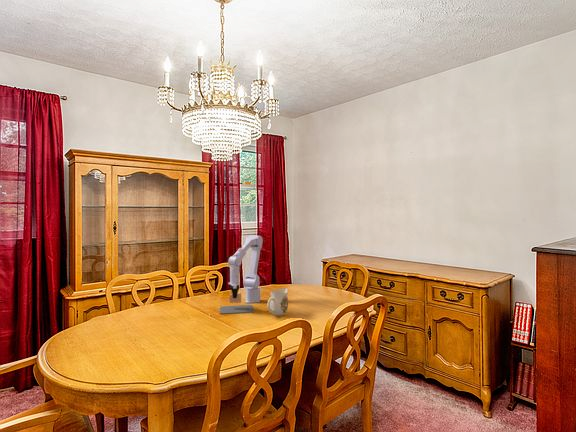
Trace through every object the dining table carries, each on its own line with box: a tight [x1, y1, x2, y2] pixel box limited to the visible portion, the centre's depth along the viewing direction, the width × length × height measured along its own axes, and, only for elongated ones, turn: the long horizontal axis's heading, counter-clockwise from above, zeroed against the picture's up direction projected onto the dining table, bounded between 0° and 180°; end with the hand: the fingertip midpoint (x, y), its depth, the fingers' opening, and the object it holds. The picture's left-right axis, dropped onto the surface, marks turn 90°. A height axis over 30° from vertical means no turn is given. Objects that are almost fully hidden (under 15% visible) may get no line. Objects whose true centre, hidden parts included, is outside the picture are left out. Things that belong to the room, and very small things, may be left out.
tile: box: [229, 293, 242, 304], centre depth 211 cm, size 7×2×5 cm, turn 99°
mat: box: [219, 304, 255, 315], centre depth 210 cm, size 20×14×1 cm
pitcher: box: [266, 287, 289, 317], centre depth 201 cm, size 11×18×14 cm, turn 143°
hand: (234, 297), depth 211 cm, fingers closed on tile, 2 cm apart
